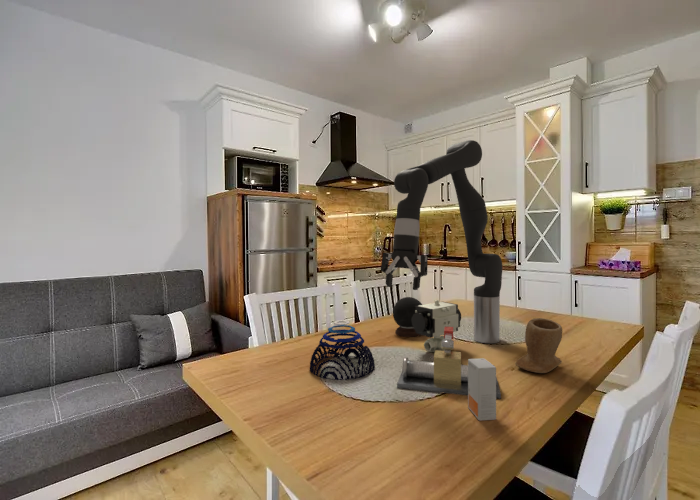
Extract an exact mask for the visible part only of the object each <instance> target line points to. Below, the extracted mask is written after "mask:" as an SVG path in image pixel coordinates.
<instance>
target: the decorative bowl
mask: <svg viewBox="0 0 700 500" xmlns="http://www.w3.org/2000/svg"><path fill="white" fill-rule="evenodd" d="M344 327H345V328H349V329H335V328H344ZM338 336H343V337H345V336H347V337H346V338H337V339H335V338H334V337H338ZM359 339H360V341H359ZM323 340H324V341H323ZM318 341H319V342H318V345H317V347H315V349H314V351H313V352H312V354H311V357H310V362H309V371H310V373H312V374H313V375H314V376H315V377H318V378H321V379H323V380H324V379H326V380H334V381H349V380H354V379H355V380H357V379H360V378H364V377H366V376H368V375H370V374H371V373H373V372H374V371H375V369H376V367H375V366H376V365H375V358H374V357H373V353H372V350H370V347H368V345H364V343H365V339H364V338H363V337H362V335H361V333H360V332H358V331H356V327H354V326H352V325H350V321H349V320H344V319H343V320H341V319H340V320H339V319H338V320H335V321H333V326H331V327H328V329H327V332H325V333H324V334H323V335H322V337H321V338H320V340H318ZM328 342H331V343H334V344H329V343H328ZM350 354H354V356H353V355H350ZM316 355H317V356H316ZM342 357H343V358H342ZM349 357H350V358H349ZM351 358H356V359H357V364H356V366H355V364H354V362H353V361H352V359H351ZM336 359H337V360H338V361H337V360H336ZM339 361H340V362H339ZM327 363H328V364H329V363H333V364H334V365H335V364H336V365H338V367H339V368H340V369H339V368H337V367H336V366H331V365H327V366H324V367H323V368H322V366H323V365H326V364H327ZM342 364H343V365H344V366H345V367H346V369H347V370H346V369H345V367H344V366H343V365H342ZM351 368H352V369H351ZM360 368H361V369H360ZM328 369H333V370H334V371H331V370H330V371H329V370H328ZM324 371H325V372H324ZM341 371H342V372H344V375H345V378H344V375H343V374H342V372H341ZM347 371H348V372H349V373H348V372H347ZM336 372H337V373H336ZM338 374H339V376H340V378H339V376H338ZM353 374H354V375H353ZM329 375H331V376H332V377H333V378H330V377H328V376H329Z"/></svg>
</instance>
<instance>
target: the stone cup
mask: <svg viewBox="0 0 700 500" xmlns="http://www.w3.org/2000/svg"><path fill="white" fill-rule="evenodd" d="M525 327H526V328H525V334H524V336H525V337H524V339H525V345H526V350H527V353H526V354H525V355H523V356H521V357H520V358H518V359H516V360H515V362H514V364H515V366H517V367H518V368H520V369H522V370H525V371H528V372H532V373H535V374H537V373H538V374H546V373H549V372H552V371H553V370H554V369H555V368H557V367H558V366H559V365H560V364H562V362H563V361H562V359H560V358H559V357H558V356H556V353H557V350H558V348H559V346H560V343H561V341H562V338H563V327H562V325H561V324H560V323H558V322H557V321H554V320H552V319H548V318H543V317H535V318H532V319H530V320H528V322H527V324H526V326H525Z"/></svg>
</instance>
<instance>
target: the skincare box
mask: <svg viewBox="0 0 700 500" xmlns="http://www.w3.org/2000/svg"><path fill="white" fill-rule="evenodd" d="M467 365H468V395H467V408H468V409H469V410H470V412H471V413H472V414H473V415H474V416H475V418H476V419H477V420H478V421H479V422H480V421H493V420H497V399H496V377H497V367H496V366H495V365H494V364H492V362H490V361H489V360H487V359H486V358H484V357H481V358H468V359H467ZM493 365H494V366H493Z"/></svg>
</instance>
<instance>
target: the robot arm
mask: <svg viewBox="0 0 700 500" xmlns="http://www.w3.org/2000/svg"><path fill="white" fill-rule="evenodd" d="M482 158H483V150H482V147H481V145H480V143H479V142H478V141H477V140H471V139H469V140H466V141H465V140H464V141H461V142H458V143H454V144H451V145H448V147H447V149H446V153H445V154H444V155H441V156H440V155H439V156H437V157H434V158H431V159H430V160H427V161H424V162H423V163H421V164H419V165H416V166H413V167H409V168H406V169H404V170H401V171H399V172H398V173H397V174H396V175H395V177H394V179H393V186H394V188H395V190H396V191H397V192H398V193H400V194H407V196H406V197H405V198H404V199H401V200H400V201H398V203H397V205H396V206H397V208H396V218H395V223H394V230H393V242H392V253H389V252H383V253H382V257H381V258H382V259H381V265H380V271H381V272H383V273H384V274H385V285H386V287H387V288H392V287H393V276H394V275H393V274H394V272H395V271H396V270H397V269H398V268H400V269H408V270H409V271H411V272H412V274H413V280H412V290H413V291H418V289H420V287H421V279H422V277H425V276H427V275H428V261H429V258H428V256H427V255H424V254H421V255H419V253H418V252H419V251H418V250H419V241H420V225H421V224H420V219H421V207H422V204H423V202H424V199H425V196H426V193H427V190H428V188H429V185H432V184H433V183H434V184H435V182H437V181H440V180H441V179H443V178H445V177H447V176H449V175H451V179H452V182H453V186H454V189H455V194H456V199H457V203H458V208H459V214H460V218H461V222H462V226H463V232H464V237H465V242H466V243H465V244H466V245H465V246H466V253H467V263H468V268H469V272H470V273H471V274H472V275H473V276H474V277H478V278H484V283H483V284H481V285H478V286H475V287H474V288H473V340H474V341H476V342H478V343H482V344H496V343H499V342H500V331H501V329H500V327H501V325H500V324H501V323H500V314H501V313H500V312H501V311H500V294H501V293H500V292H501V289H502V280H503V279H502V278H503V261H502V258H501V256H500V255H499V254H496V253H484V251H483V249H482V248H483V247H482V238H483V237H482V236H483V234H484V231H485V229H486V228H487V224H488V220H489V216H488V210H487V206H486V201H485V200H484V198H483V196H482V195H481V194H480V192H478V190H476V189H475V187H474V186H473V185H472V184H471V182H470V181H469V179H468V175H467V172H466V169H468V168H473V167H476V166H477V165H478V164H479V163H480V162H481V160H482ZM391 259H392V262H391V263H390V260H391ZM417 262H419V263H420V270H419V267H418V265H417V264H416V263H417Z"/></svg>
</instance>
